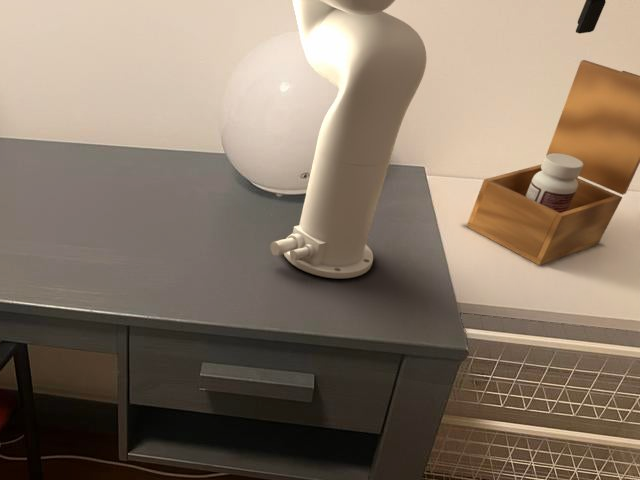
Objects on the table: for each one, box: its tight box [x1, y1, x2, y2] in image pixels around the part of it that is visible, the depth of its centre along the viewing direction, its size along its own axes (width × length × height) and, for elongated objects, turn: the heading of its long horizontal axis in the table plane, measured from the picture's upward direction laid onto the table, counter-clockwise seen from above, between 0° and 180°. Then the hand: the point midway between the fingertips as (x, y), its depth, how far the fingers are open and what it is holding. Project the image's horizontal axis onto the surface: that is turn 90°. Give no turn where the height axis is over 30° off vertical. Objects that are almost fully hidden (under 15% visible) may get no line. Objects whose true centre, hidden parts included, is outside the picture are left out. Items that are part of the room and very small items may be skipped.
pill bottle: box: [525, 153, 583, 213], centre depth 110 cm, size 6×6×11 cm
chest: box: [466, 163, 623, 266], centre depth 112 cm, size 15×13×8 cm
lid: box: [545, 59, 640, 195], centre depth 108 cm, size 15×13×6 cm
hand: (617, 41), depth 97 cm, fingers open, 9 cm apart
